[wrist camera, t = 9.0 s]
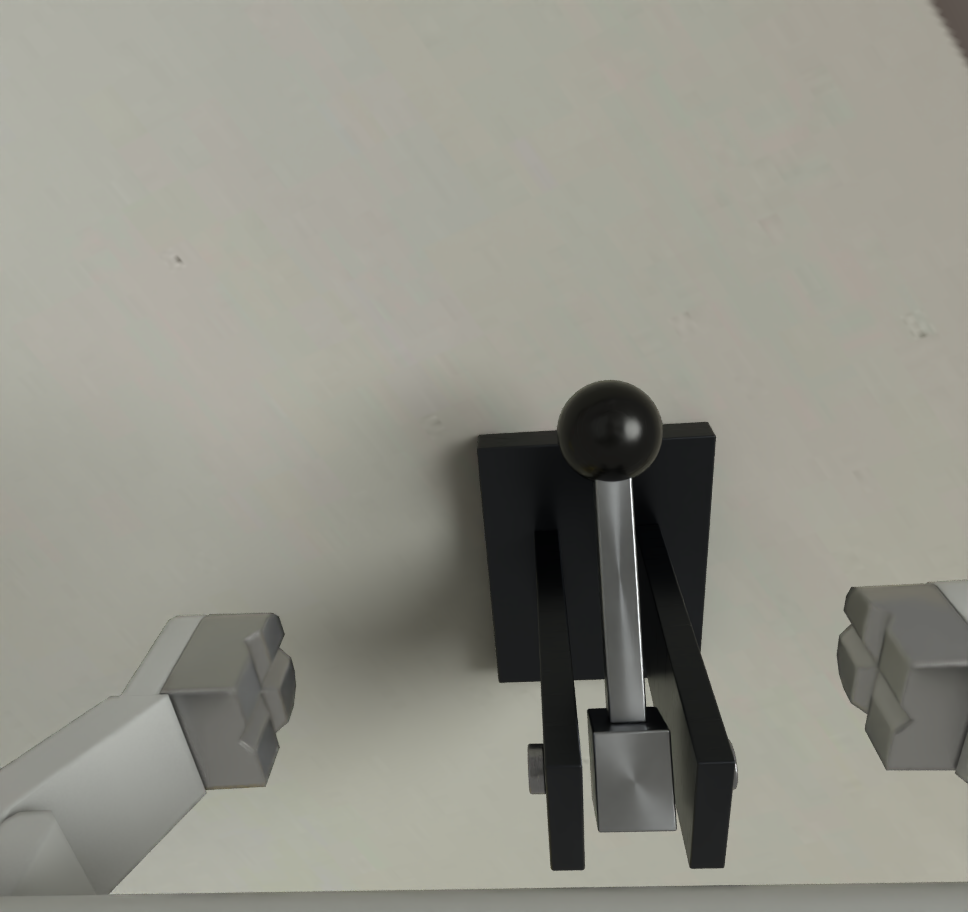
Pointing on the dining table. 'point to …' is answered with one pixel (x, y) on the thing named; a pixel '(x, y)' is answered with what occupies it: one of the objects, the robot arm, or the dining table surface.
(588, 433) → the switch lever
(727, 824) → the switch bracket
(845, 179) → the dining table surface
